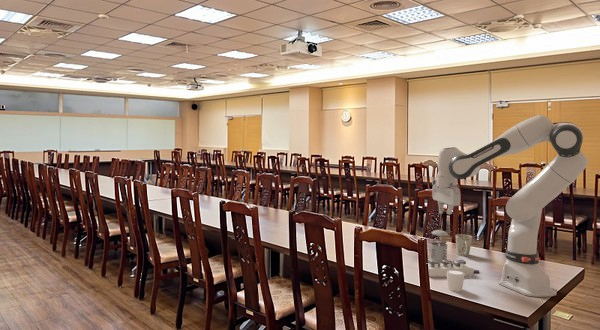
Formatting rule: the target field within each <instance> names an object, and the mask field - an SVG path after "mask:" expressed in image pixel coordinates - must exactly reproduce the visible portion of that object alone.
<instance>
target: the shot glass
mask: <svg viewBox="0 0 600 330" xmlns="http://www.w3.org/2000/svg"><path fill="white" fill-rule="evenodd" d="M464 275H465V273H464V272H461V271H457V270H448V271H447V276H446V286H447V290H449V291H452V292H458V293H459V292H462V291H463V288H464V287H463V286H464V278H465V276H464Z"/></svg>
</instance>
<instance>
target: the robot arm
mask: <svg viewBox="0 0 600 330" xmlns="http://www.w3.org/2000/svg"><path fill="white" fill-rule="evenodd" d="M583 140H584V134H583V131H582V128H580V127H579V126H578V125H577V124H575V123H573V122H568V121H563V122H552V120H551V119H550V118H548V117H547V116H546V115H543V114H538V115H535V116H531V117H530V118H527V119H525V120H522V121H521V122H519V123H517V124H514V125H513V126H512V127H510V128H509V129H507V130H506V131H504V132H503V133H502V134H500V135H499V136H498V137H496V138H494V140H492V141H491V142H490V143H488V144H486V145H484V146H482V147H480V148H478V149H477V150H475V151H473V152H471V153H469V154H467V153H465V152H463V151H461V150H460V149H459V148H457V147H455V146H453V147H444V148H442V149H441V150H440V151H439V154H438V156H437V157H438V158H437V170H438V171H437V175H436V178H434V179H432V180H431V184H432V191H431V192H432V193H431V197H432V199H433V201H435V202H436V201H437V205H438V206H437V207H438V211H439V212H440V211H442V212H444V211H445V207H444V204H445V205H447V210H446V214H447V215H452V214H453V212H452V211H453V210H454V207H460V205H461V189H460V188H459V186H458V180H465V179H467V178H471V177H474V176H476V175H478V174H479V172H480V170H481V168H482V167H481V166H482V165H484V164H486V163H488V162H490V161H491V160H494V159H497V158H499V157H503V156H510V155H511V156H512V155H515V154H520V153H522V152H524V151H527V150H529V149H531V148H532V147H535V146H536V145H539V144H541V143H546V142H548V143H550V144H551V146H552V148H553V149H554V150H555V151H556V153H557V154H556V156H555V157H554V158H553V159H552V160H551V161H550V162H549V163H548V164H547V165H545V167H544V168H543V169H542V170H541V171H540V172H539V173H538V174H536V176H535V177H533V178H532V179H530V181H528V183H526V184H525V185H524V186H522V187H521V188H520V189H519V190H518V191H517V192H516V193H514V195H512V196H511V197H510V198H509V199H508V200H507V202H506V204H505V212H506V214H507V216H508V217H510V218H511V221H510V222H511V223H510V226H509V229H508V237H507V248H506V250H505V262H504V264H503V266H502V271H501V272H502V273H501V279H500V280H499V281H498V284H499V285H500V286H503V287H505V288H508V289H510V290H513V291H515V292H517V293H519V294H522V295H525V296H529V297H535V298H536V297H538V298H541V297H542V298H543V297H547V298H548V297H554V296H557V291H555V290H554V289H553V288H551V280H550V277H549V275H548V274H547V273H546V272H545V271H544V269H543V267H542V266H541V265H540V260H541V257H539V256H538V252H537V248H538V235H539V229H540V224H541V218H542V213H543V208H544V207H546V206H547V205H549V203H551V202H552V201H553V200H554V199H555V198H557V197H558V196H559V195H560V194H561V193H563V192H564V191H565V190H566V189H567V188H568V187H569V186H570V185H571V184H573V182H575V181H576V180H577V179H578V177H580V175H581V174H582V173H583V172H584V171H585V169H586V167H588V164H589V161H588V158H587V156H586V154H585V153H583V152H582V151H581V149H582V144H583Z"/></svg>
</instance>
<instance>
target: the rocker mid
mask: <svg viewBox="0 0 600 330" xmlns="http://www.w3.org/2000/svg"><path fill="white" fill-rule="evenodd" d="M440 263H442V264H444V265H447V264H451V266H453V262H451V261H449V260H448V261H444V260H441V261H440Z"/></svg>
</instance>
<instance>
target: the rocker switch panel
mask: <svg viewBox="0 0 600 330" xmlns="http://www.w3.org/2000/svg"><path fill="white" fill-rule="evenodd" d="M427 264H428V267H429V276H430V277H431V278H432V277H447V271H448V270H457V271H461V272H464V273H465V275H464V277H473V276H474V274H479V273H480V270H479V269H478V270H477V269H474V268H475V267H473V266H471V265H469V264H467V263H466V264H460V266H455V265H454V264H453V266H451V264H447V265H444V264H442V263H440V266H438V264H434V265H430V264H429V263H427ZM430 277H429V278H430Z"/></svg>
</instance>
